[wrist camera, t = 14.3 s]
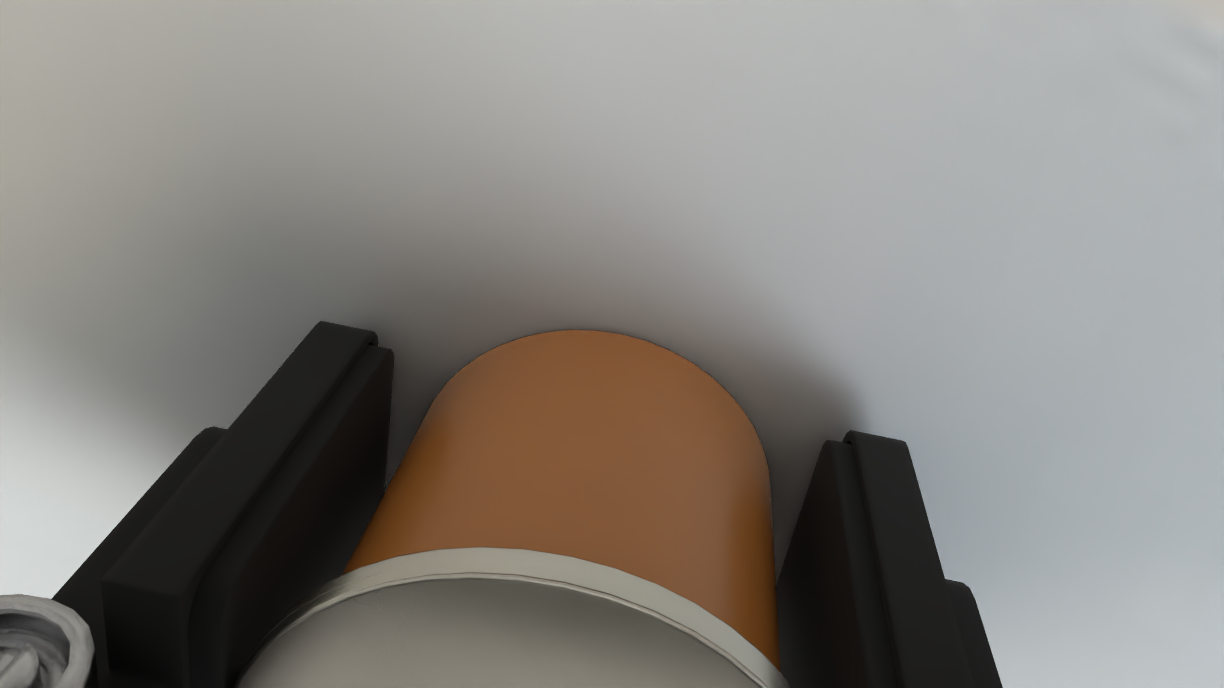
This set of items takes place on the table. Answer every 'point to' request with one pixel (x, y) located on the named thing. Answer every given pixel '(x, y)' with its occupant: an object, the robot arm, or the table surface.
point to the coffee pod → (555, 537)
